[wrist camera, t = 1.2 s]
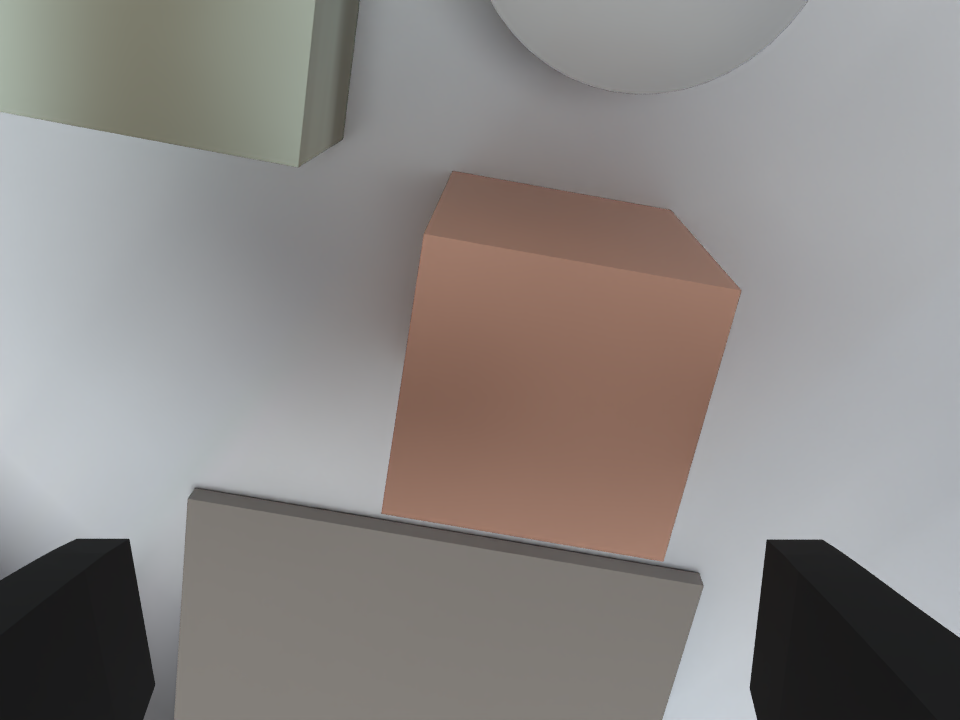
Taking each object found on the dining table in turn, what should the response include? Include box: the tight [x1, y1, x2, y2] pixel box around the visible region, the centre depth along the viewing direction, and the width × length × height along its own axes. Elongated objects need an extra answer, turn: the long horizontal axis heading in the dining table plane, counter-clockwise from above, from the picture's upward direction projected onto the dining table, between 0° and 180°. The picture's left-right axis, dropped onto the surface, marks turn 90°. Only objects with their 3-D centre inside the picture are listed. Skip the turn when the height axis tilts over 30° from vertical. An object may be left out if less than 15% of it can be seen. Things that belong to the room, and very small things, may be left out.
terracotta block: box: [381, 171, 741, 561], centre depth 16 cm, size 4×4×6 cm
